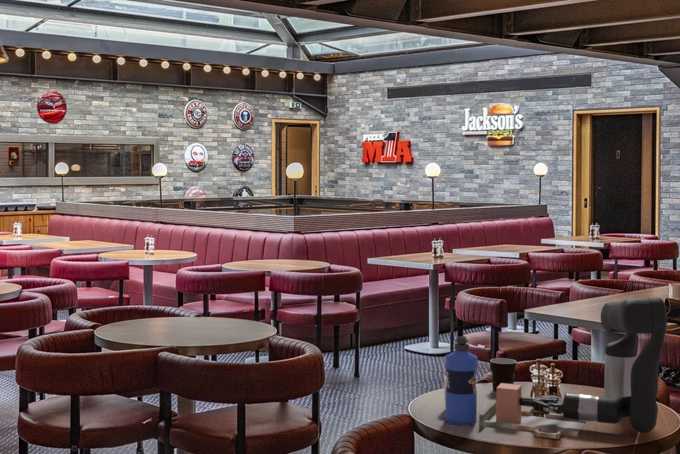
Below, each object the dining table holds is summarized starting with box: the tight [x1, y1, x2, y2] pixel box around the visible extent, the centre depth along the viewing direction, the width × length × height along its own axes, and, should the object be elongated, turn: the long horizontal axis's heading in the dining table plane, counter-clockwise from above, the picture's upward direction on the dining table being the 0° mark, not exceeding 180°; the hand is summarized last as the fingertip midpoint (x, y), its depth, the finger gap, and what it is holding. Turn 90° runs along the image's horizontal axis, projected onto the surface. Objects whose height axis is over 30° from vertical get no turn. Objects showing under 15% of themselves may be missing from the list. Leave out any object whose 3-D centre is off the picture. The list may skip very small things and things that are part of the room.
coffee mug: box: [489, 357, 517, 393], centre depth 295 cm, size 12×9×10 cm
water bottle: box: [444, 335, 479, 426], centre depth 257 cm, size 9×9×25 cm
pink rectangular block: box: [495, 383, 523, 424], centre depth 255 cm, size 6×6×10 cm
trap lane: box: [478, 400, 585, 440], centre depth 253 cm, size 27×25×4 cm
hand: (520, 401), depth 254 cm, fingers closed
